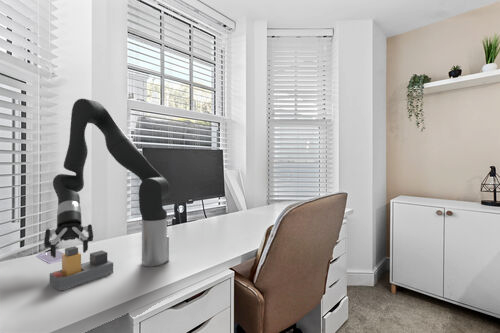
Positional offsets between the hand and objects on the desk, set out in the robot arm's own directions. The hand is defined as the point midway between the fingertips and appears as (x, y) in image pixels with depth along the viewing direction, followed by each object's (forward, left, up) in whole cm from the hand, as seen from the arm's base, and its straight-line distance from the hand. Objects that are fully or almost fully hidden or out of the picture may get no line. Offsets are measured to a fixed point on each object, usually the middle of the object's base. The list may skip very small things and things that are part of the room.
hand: (70, 254), depth 87 cm
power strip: (-1, +6, -7) cm, 10 cm away
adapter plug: (+2, +6, -6) cm, 9 cm away
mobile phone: (-4, -25, -8) cm, 27 cm away
